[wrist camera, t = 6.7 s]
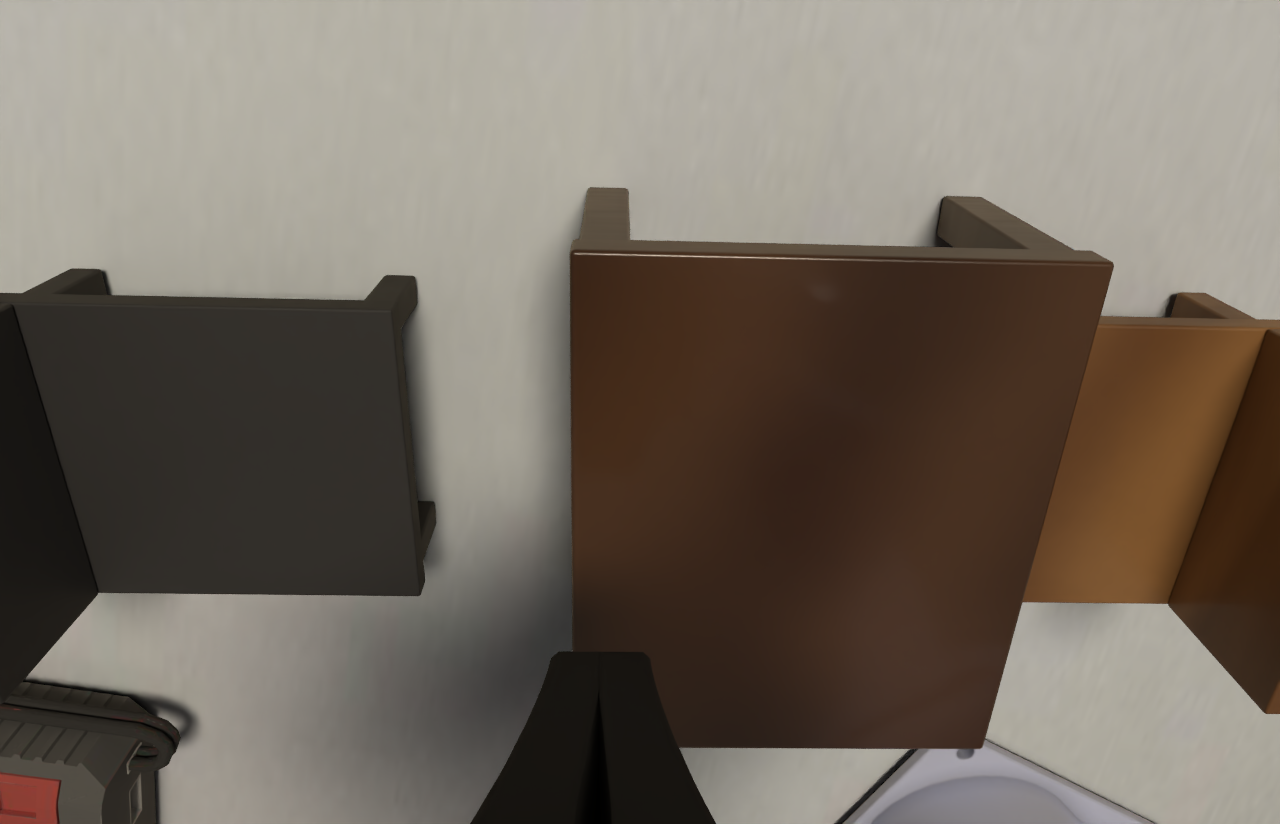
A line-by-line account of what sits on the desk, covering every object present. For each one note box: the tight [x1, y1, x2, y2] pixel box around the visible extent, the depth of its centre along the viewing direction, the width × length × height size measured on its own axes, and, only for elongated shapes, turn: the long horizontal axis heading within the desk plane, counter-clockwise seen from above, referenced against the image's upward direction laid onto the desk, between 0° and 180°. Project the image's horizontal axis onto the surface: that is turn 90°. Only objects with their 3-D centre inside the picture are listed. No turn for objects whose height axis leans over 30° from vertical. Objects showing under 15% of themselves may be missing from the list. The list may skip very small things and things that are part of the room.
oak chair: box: [1022, 293, 1280, 714], centre depth 19 cm, size 8×7×6 cm
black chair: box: [0, 269, 436, 704], centre depth 18 cm, size 8×7×6 cm
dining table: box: [570, 187, 1114, 749], centre depth 19 cm, size 9×11×6 cm
